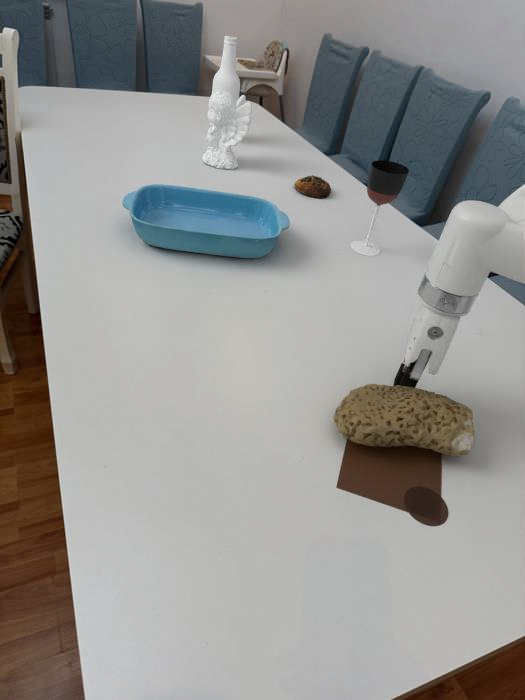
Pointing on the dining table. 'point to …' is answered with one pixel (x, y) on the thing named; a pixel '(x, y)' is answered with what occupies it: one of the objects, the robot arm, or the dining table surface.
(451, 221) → the robot arm
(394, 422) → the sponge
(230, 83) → the alcohol
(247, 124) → the cherub figurine
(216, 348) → the dining table surface
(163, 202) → the casserole dish
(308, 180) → the bread roll
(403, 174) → the wineglass
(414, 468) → the brown panel with disc
